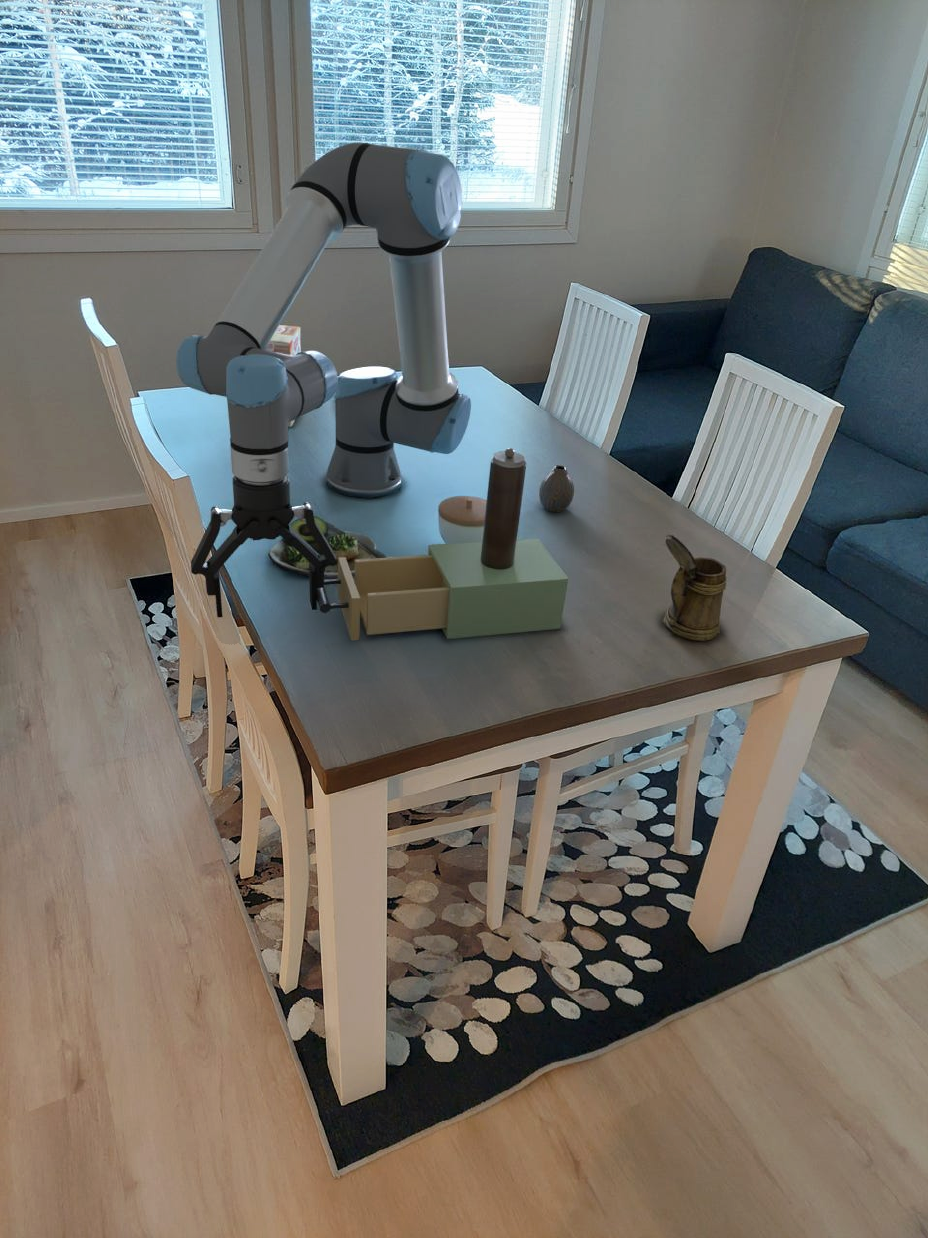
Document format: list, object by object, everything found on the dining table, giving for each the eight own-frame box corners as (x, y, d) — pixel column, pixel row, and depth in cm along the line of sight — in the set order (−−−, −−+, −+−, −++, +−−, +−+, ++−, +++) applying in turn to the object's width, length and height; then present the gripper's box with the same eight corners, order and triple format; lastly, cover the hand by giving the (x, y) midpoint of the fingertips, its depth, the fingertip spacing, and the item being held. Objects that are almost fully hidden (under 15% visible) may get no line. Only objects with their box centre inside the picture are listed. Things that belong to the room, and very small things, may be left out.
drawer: (322, 643, 126) (321, 600, 122) (310, 599, 136) (309, 559, 132) (464, 630, 132) (468, 589, 128) (443, 589, 142) (446, 550, 138)
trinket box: (501, 541, 161) (506, 494, 156) (483, 566, 152) (489, 517, 147) (447, 528, 163) (451, 482, 158) (427, 552, 154) (430, 504, 149)
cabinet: (447, 639, 131) (451, 587, 127) (425, 593, 142) (428, 544, 137) (560, 628, 137) (568, 578, 132) (530, 585, 147) (537, 538, 143)
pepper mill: (476, 554, 136) (487, 442, 126) (507, 552, 137) (521, 441, 127) (486, 570, 132) (498, 455, 122) (518, 568, 133) (533, 454, 123)
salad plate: (403, 547, 155) (404, 524, 153) (364, 593, 141) (364, 568, 138) (305, 525, 159) (304, 502, 157) (257, 568, 145) (255, 543, 142)
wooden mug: (630, 622, 140) (652, 522, 130) (694, 607, 146) (719, 510, 136) (665, 652, 133) (690, 548, 124) (730, 634, 139) (760, 535, 130)
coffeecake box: (291, 427, 201) (289, 342, 191) (261, 425, 201) (257, 339, 191) (302, 406, 214) (301, 326, 203) (274, 404, 214) (271, 323, 203)
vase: (569, 517, 172) (576, 476, 167) (535, 512, 173) (540, 471, 168) (572, 503, 178) (579, 463, 173) (539, 498, 178) (545, 458, 174)
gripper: (163, 490, 110) (178, 629, 121) (357, 482, 117) (355, 615, 128) (163, 467, 116) (178, 602, 127) (348, 461, 123) (346, 590, 134)
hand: (267, 609), depth 128 cm, fingers open, 13 cm apart
